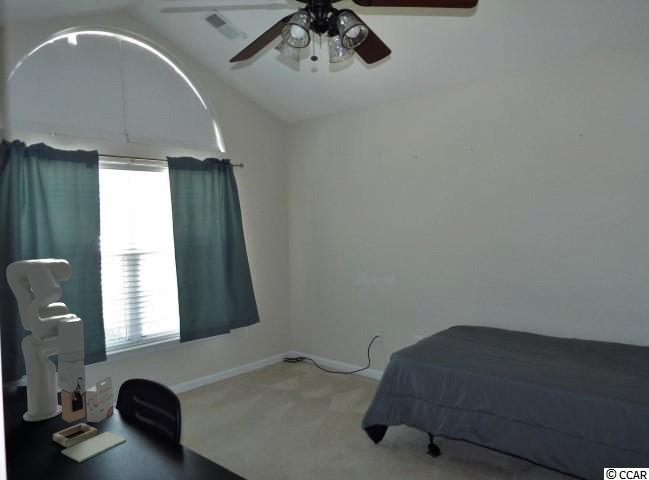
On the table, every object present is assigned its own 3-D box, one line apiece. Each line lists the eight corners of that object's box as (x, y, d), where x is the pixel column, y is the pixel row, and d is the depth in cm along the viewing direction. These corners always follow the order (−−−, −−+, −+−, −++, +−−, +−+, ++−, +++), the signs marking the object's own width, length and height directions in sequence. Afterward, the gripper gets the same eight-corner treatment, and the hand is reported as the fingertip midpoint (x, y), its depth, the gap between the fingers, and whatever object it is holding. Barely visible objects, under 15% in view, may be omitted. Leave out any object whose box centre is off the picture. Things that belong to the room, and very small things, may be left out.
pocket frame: (52, 440, 144) (52, 434, 144) (82, 428, 152) (82, 422, 152) (67, 447, 138) (67, 441, 138) (97, 434, 146) (97, 429, 146)
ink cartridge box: (102, 412, 165) (101, 374, 164) (114, 412, 164) (112, 374, 163) (86, 422, 156) (84, 382, 156) (98, 423, 156) (96, 383, 155)
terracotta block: (62, 418, 145) (61, 389, 144) (77, 413, 149) (76, 384, 148) (69, 422, 142) (68, 392, 141) (85, 416, 146) (84, 387, 145)
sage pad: (61, 452, 135) (61, 450, 135) (107, 432, 148) (107, 431, 148) (79, 462, 129) (79, 460, 129) (126, 441, 142) (126, 439, 142)
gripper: (47, 354, 146) (49, 406, 147) (72, 363, 136) (74, 419, 137) (70, 348, 152) (72, 398, 153) (96, 356, 143) (97, 410, 143)
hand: (73, 407), depth 145 cm, fingers closed on terracotta block, 5 cm apart
